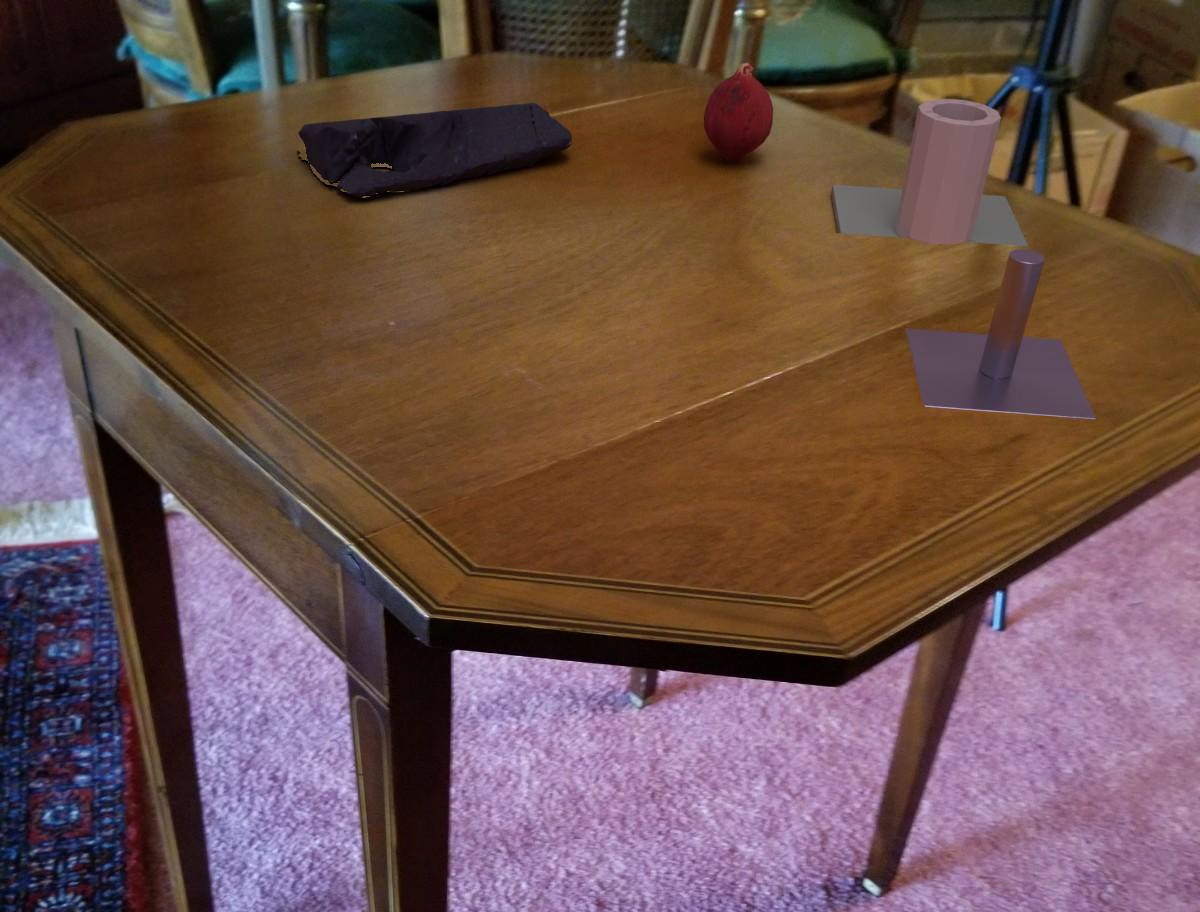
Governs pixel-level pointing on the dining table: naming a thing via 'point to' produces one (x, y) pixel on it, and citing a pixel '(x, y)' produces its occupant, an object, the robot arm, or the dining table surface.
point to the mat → (880, 206)
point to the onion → (738, 115)
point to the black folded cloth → (431, 146)
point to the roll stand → (1000, 358)
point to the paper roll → (946, 171)
